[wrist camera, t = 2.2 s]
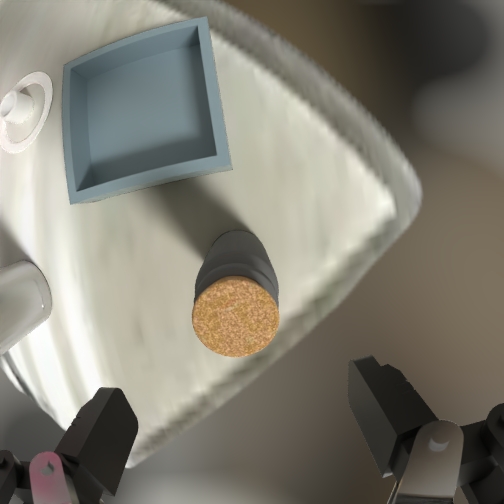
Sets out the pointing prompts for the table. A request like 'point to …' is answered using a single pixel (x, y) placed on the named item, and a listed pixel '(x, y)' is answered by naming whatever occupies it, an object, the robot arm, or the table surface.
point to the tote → (143, 113)
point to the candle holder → (23, 110)
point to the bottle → (236, 296)
